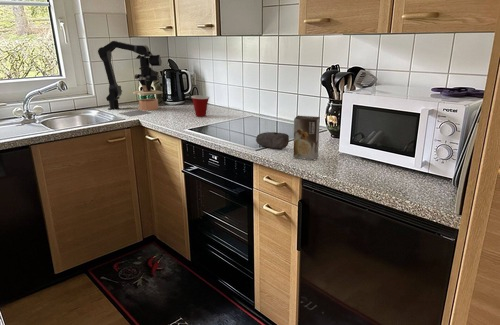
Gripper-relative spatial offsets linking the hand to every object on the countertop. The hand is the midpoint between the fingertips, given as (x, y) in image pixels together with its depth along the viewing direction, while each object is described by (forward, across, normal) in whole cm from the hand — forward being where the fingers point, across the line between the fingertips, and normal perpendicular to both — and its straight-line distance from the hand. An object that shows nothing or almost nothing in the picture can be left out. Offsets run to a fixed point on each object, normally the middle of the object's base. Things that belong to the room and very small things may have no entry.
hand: (147, 90), depth 245 cm
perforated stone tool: (+12, -117, +11) cm, 119 cm away
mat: (+12, -8, +14) cm, 20 cm away
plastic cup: (+12, -42, -10) cm, 45 cm away
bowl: (+12, 0, 0) cm, 12 cm away
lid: (+2, 0, 0) cm, 2 cm away
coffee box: (+12, -136, +12) cm, 138 cm away
